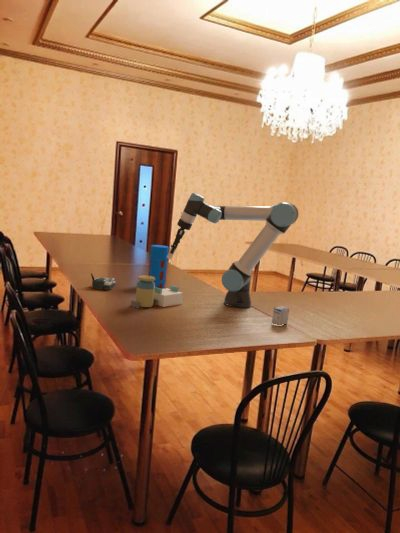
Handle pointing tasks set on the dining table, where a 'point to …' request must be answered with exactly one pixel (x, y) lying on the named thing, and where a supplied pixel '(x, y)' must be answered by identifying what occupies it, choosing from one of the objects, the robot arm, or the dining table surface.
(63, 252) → the dining table surface
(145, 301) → the jar
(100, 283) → the communication device
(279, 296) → the dining table surface
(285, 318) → the medicine box
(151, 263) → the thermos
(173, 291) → the block
